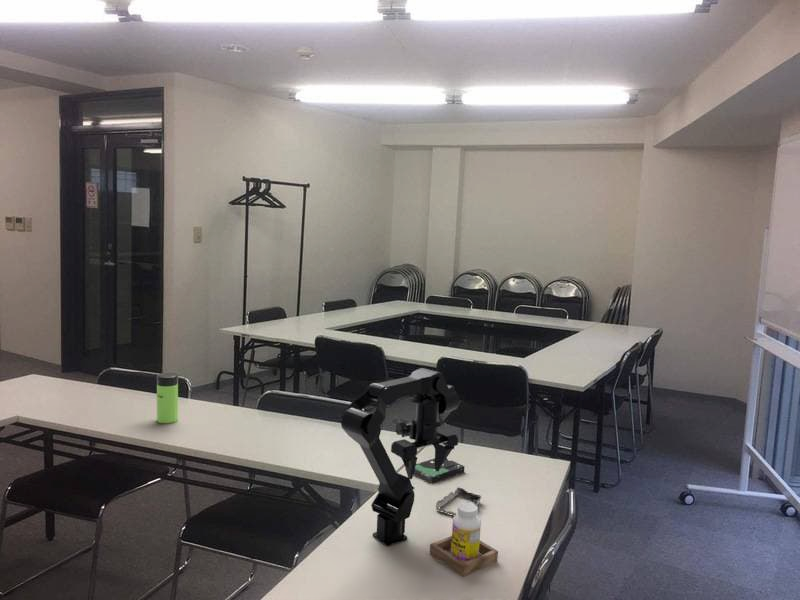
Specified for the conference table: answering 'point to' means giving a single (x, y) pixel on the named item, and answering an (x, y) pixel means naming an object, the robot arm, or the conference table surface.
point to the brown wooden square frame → (462, 568)
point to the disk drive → (446, 471)
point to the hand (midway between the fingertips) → (423, 474)
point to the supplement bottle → (466, 533)
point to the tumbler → (167, 397)
